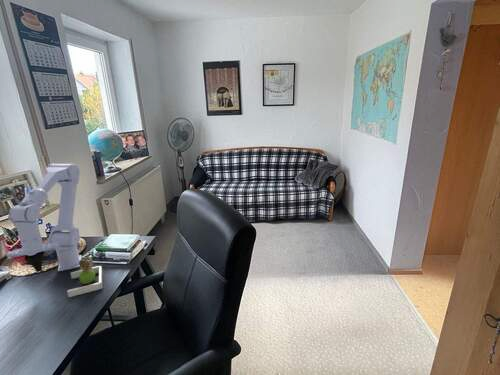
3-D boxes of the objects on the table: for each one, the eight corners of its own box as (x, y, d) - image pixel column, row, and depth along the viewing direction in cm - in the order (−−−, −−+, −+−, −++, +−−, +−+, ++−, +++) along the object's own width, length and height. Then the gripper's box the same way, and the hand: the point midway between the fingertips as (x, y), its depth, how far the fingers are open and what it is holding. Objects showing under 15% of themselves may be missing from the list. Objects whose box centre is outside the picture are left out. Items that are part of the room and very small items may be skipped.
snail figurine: (91, 288, 102) (85, 261, 98) (77, 285, 103) (71, 258, 99) (101, 279, 107) (96, 253, 103) (88, 276, 108) (82, 251, 105)
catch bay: (72, 277, 108) (70, 272, 107) (102, 270, 112) (101, 265, 112) (68, 297, 97) (67, 291, 96) (102, 288, 102) (101, 282, 101)
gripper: (0, 247, 88) (11, 282, 92) (53, 237, 94) (61, 270, 98) (6, 237, 94) (16, 270, 98) (56, 229, 100) (63, 260, 104)
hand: (39, 270), depth 98 cm, fingers closed
